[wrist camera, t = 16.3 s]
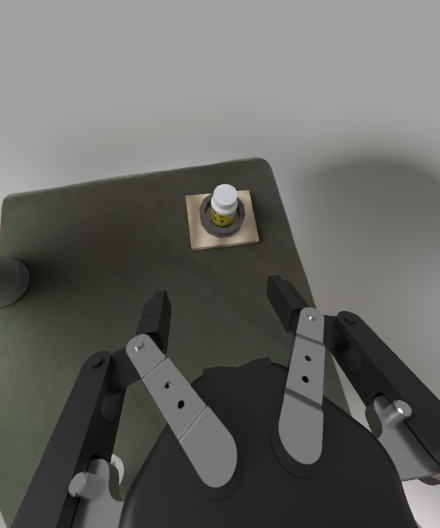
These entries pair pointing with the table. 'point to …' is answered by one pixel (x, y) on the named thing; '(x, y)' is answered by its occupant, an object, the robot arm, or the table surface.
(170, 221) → the table surface
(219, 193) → the supplement bottle
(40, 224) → the table surface
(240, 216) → the jig
